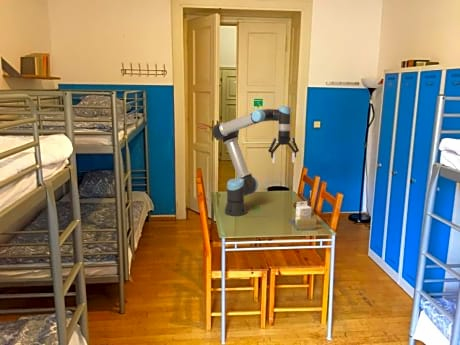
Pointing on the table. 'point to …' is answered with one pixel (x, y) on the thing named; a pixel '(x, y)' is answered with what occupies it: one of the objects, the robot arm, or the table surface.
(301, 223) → the bracket
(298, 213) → the ink box
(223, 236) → the table surface
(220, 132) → the robot arm
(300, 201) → the mug
